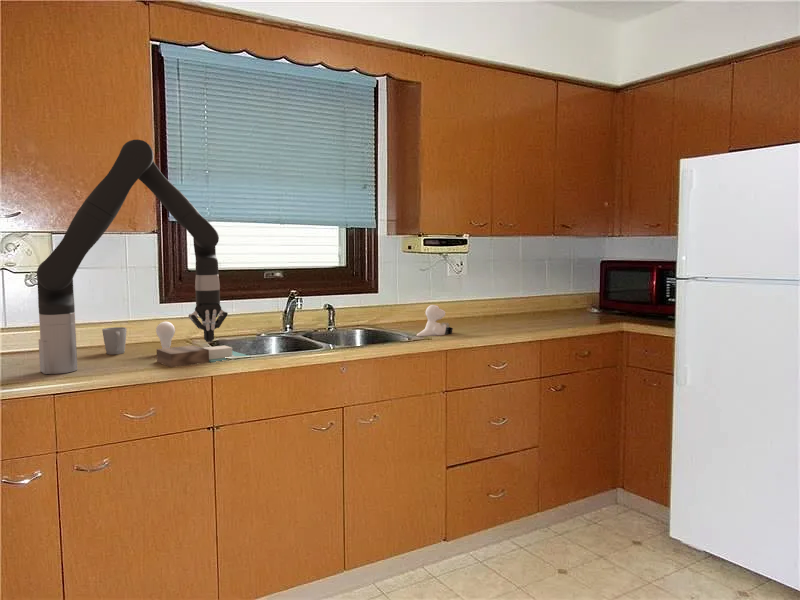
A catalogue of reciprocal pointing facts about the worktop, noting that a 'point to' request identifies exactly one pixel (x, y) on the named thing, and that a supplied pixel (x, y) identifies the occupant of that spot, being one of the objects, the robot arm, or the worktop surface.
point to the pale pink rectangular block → (219, 352)
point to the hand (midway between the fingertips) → (209, 341)
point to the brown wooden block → (182, 355)
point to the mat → (225, 358)
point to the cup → (114, 340)
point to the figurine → (433, 327)
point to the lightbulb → (165, 333)
